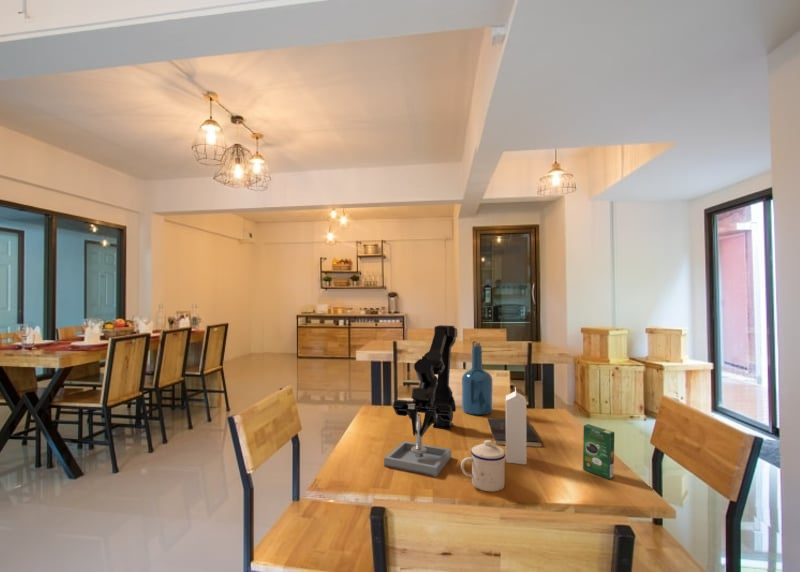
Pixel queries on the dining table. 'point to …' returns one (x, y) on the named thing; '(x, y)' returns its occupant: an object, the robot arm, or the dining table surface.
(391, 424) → the dining table surface
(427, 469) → the tray
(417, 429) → the screw
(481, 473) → the teacup with lid
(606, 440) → the coffee box
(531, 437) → the hardcover book
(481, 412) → the wine bottle
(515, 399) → the milk
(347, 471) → the dining table surface
